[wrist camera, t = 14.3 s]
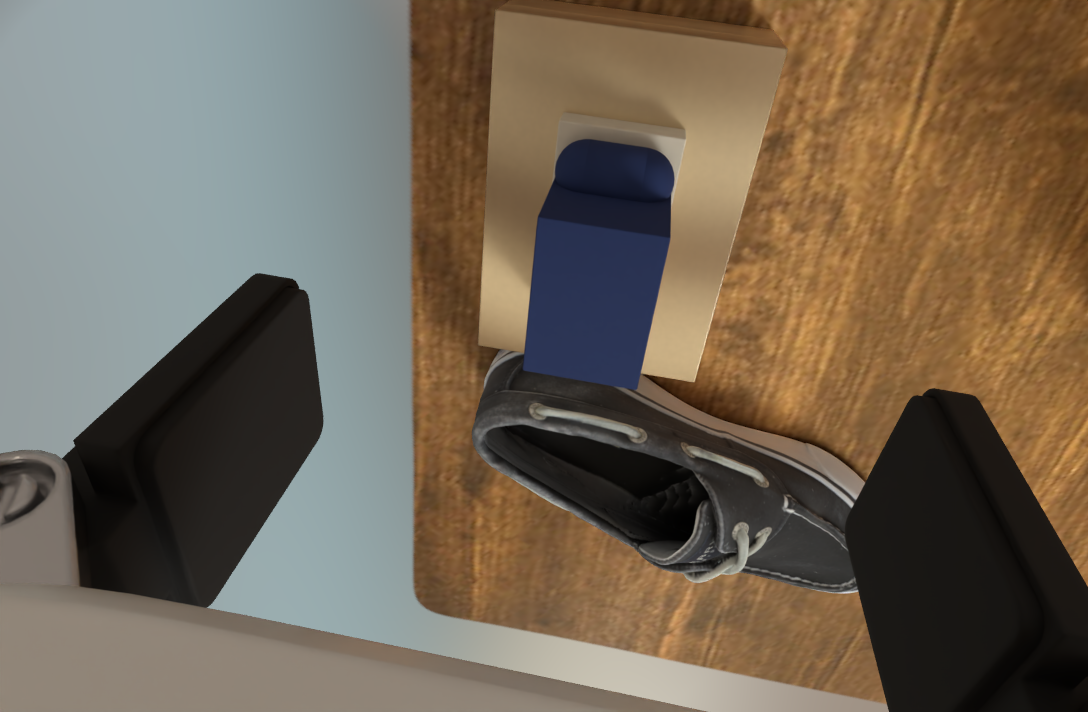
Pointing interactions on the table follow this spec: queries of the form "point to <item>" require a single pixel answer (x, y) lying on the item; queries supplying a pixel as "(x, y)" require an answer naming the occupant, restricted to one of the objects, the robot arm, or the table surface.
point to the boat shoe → (671, 477)
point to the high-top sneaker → (601, 249)
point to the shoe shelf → (636, 96)
